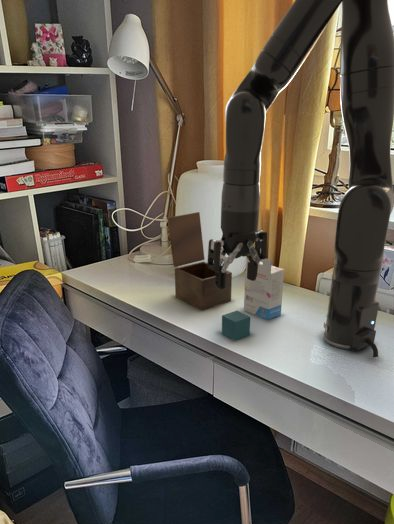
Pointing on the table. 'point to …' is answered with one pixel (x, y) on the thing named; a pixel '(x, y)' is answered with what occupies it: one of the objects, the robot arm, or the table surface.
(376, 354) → the robot arm
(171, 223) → the chest lid
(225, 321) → the block
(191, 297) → the chest
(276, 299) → the ink box
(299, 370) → the table surface
